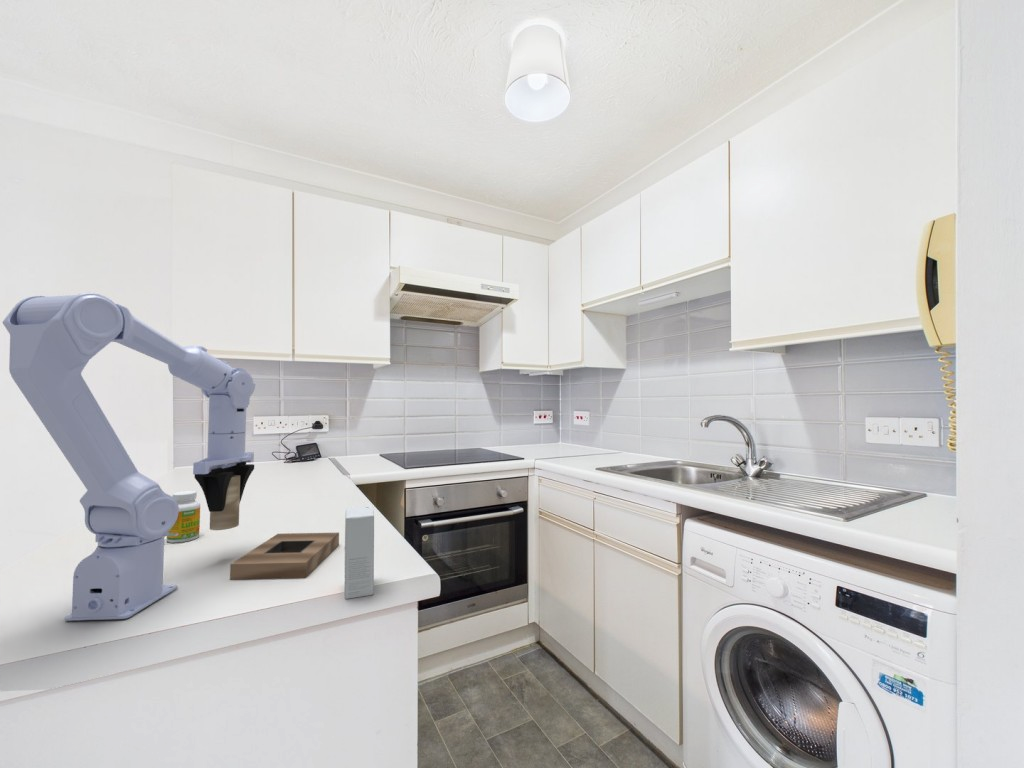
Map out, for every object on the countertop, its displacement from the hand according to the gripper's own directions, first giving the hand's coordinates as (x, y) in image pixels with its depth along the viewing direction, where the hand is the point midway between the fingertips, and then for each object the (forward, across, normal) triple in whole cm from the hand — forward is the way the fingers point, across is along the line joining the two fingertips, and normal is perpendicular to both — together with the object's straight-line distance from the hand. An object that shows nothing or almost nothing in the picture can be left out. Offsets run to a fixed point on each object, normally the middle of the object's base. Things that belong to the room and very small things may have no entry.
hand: (225, 507), depth 76 cm
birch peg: (+3, 0, 0) cm, 3 cm away
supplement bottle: (+10, +13, +16) cm, 23 cm away
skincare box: (+10, -13, -28) cm, 32 cm away
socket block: (+10, 0, -12) cm, 15 cm away
